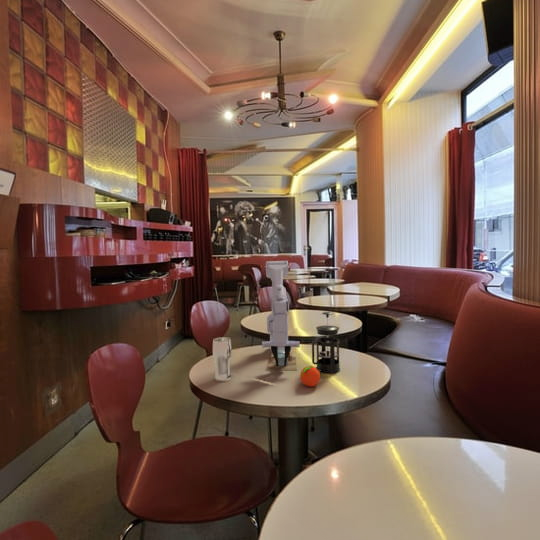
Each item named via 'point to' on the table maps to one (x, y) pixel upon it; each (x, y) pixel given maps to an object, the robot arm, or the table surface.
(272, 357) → the cradle
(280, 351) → the grey block
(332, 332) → the french press
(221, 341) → the beer glass
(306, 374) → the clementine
